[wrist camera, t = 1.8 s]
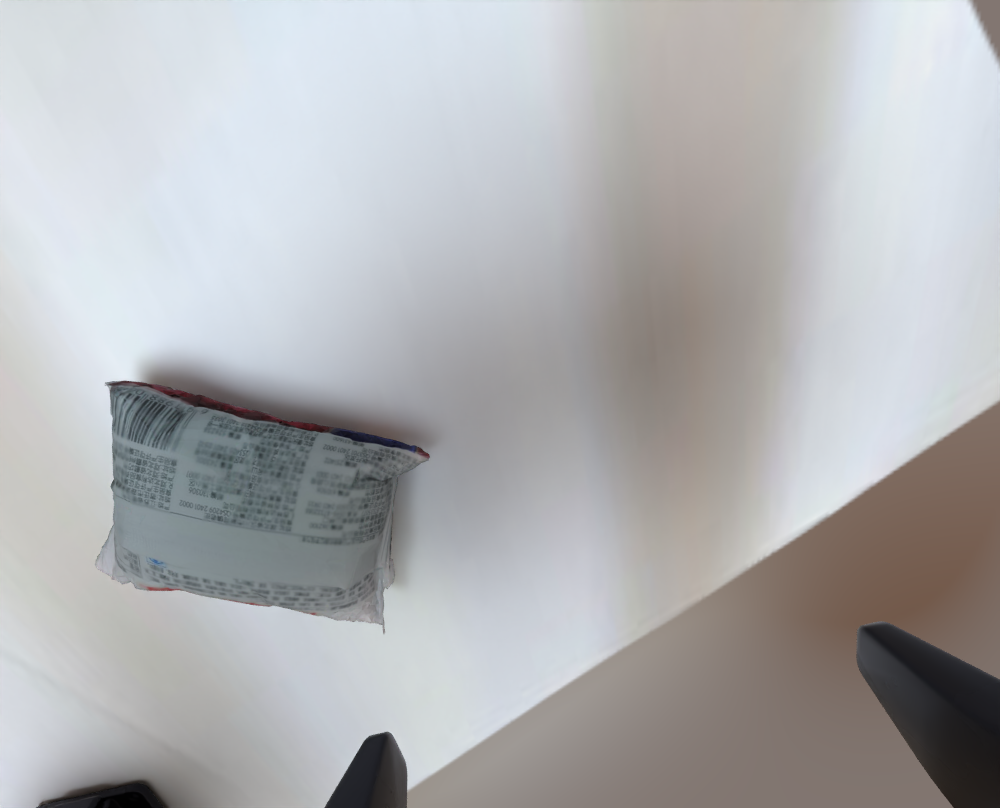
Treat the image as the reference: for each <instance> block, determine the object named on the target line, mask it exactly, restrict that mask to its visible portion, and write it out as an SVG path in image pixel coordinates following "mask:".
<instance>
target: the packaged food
mask: <svg viewBox="0 0 1000 808" xmlns="http://www.w3.org/2000/svg"><path fill="white" fill-rule="evenodd" d="M105 384H106V385H107V386H108V387H109V389H110V400H111V415H112V417H113V423H112V436H113V444H112V452H113V476H114V480H113V482H112V484H111V489H112V491H113V499H114V513H113V521H114V524H113V526H112V528H111V530H110V533H109V536H108V539H107V541H106V542H105V544H104V546H102V549H101V553H100V554H99V555H98V557H97V560H96V563H95V566H96V567H97V569H98V570H100V571H102V572H104V573H105V574H107V575H109V576H112V579H113V580H117V581H118V582H120V583H121V584H125V583H129V582H131V583H133V584H134V586H135V588H136V589H140V590H147V591H172V590H181V591H187V592H190V593H194V594H197V595H201V596H207V597H212V598H218V599H223V600H229V601H234V602H240V603H245V604H251V605H259V606H268V607H269V606H279V607H284V608H288V609H291V610H295V611H299V612H303V613H307V614H312V615H316V616H325V617H328V618H331V619H335V620H346V621H352V622H354V621H356V620H357V621H360V622H368V623H378V624H381V625H383V633H385V629H384V619H383V609H384V599H383V592H384V589H385V587H386V588H387V589H388V588H389V587H390V585H391V584H392V583H393V581H394V576H395V573H394V566H393V560H392V559H391V560H390V555H391V539H392V537H391V534H392V516H393V501H394V496H395V491H396V486H397V482H398V479H397V476H398V475H401V474H403V473H405V472H407V471H409V470H411V469H413V468H415V467H416V466H418V465H419V464H421V463H422V462H425V461H428V460H429V458H430V456H429V454H428V453H426V452H424V451H423V450H422V449H421V448H419V447H417V446H415V445H413V446H410V445H407V444H405V443H401V442H398V441H395V440H391V439H386V438H382V437H378V436H374V435H369V434H365V433H360V432H356V431H351V430H345V429H339V428H334V427H326V426H319V425H316V424H309V423H303V422H293V421H291V422H288V421H284V420H281V419H279V418H276V417H274V416H272V415H269V414H266V413H262V412H259V411H254V410H249V409H246V408H243V407H238V406H234V405H230V404H226V403H222V402H219V401H215V400H213V399H211V398H208V397H205V396H202V395H193V394H191V393H187V392H184V391H181V390H178V389H175V390H174V389H172V388H170V387H165V386H160V385H154V384H147V383H142V382H132V381H112V382H107V383H105ZM383 581H384V582H383Z"/></svg>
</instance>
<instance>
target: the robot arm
mask: <svg viewBox="0 0 1000 808" xmlns="http://www.w3.org/2000/svg"><path fill="white" fill-rule="evenodd" d="M857 664H858V667H859V670H860V672H861V674H862V675H863V677H864V678H865V680H866V682H867V683H868V685H869V686H870V688H871V689H872V691H873V692H874V694H875V695H876V697H877V698H878V700H879V701H880V703H881V704H882V706H883V707H884V709H885V710H886V712H887V713H888V715H889V716H890V718H891V719H892V721H893V722H894V724H895V725H896V727H897V729H898V730H899V732H900V733H901V735H902V736H903V737H904V739H905V741H906V742H907V743H908V745H909V747H910V748H911V749H912V751H913V752H914V754H915V756H916V757H917V759H918V760H919V762H920V763H921V764H922V766H923V767H924V769H925V770H926V772H927V773H928V774H929V776H930V777H931V779H932V780H933V781H934V783H935V784H936V785H937V786H938V788H939V789H940V791H941V792H942V793H943V794H944V796H945V797H946V798H947V799H948V801H949V802H950V803H951V805H952V806H953V807H954V808H1000V680H999V679H997V678H996V677H993V676H992V675H990V674H988V673H986V672H983V671H982V670H980V669H978V668H976V667H974V666H972V665H970V664H968V663H966V662H964V661H962V660H960V659H958V658H956V657H954V656H952V655H951V654H949V653H947V652H945V651H943V650H941V649H939V648H937V647H935V646H933V645H931V644H929V643H927V642H925V641H923V640H921V639H919V638H917V637H915V636H913V635H912V634H909V633H907V632H905V631H904V630H902V629H900V628H898V627H896V626H894V625H892V624H890V623H887V622H875V623H871V624H866V625H862V626H860V627H859V628H858V630H857ZM36 808H163V806H162V805H161V804H160V802H159V801H158V800H157V799H156V797H155V796H154V795H153V793H152V792H151V791H150V789H149V788H148V787H147V786H146V785H144V784H140V783H136V784H131V785H127V786H122V787H118V788H114V789H110V790H105V791H101V792H97V793H92V794H88V795H84V796H80V797H75V798H71V799H67V800H62V801H58V802H54V803H49V804H45V805H41V806H38V807H36ZM325 808H407V767H406V763H405V760H404V757H403V755H402V753H401V751H400V749H399V747H398V745H397V743H396V741H395V739H394V737H393V735H392V734H391V733H389V732H384V733H380V734H375V735H371V736H369V737H368V738H367V739H366V740H365V741H364V742H363V744H362V746H361V747H360V749H359V751H358V752H357V754H356V756H355V757H354V759H353V761H352V762H351V764H350V766H349V767H348V769H347V771H346V772H345V774H344V776H343V777H342V779H341V781H340V782H339V784H338V786H337V787H336V789H335V791H334V792H333V794H332V796H331V797H330V799H329V801H328V802H327V804H326V806H325Z"/></svg>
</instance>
